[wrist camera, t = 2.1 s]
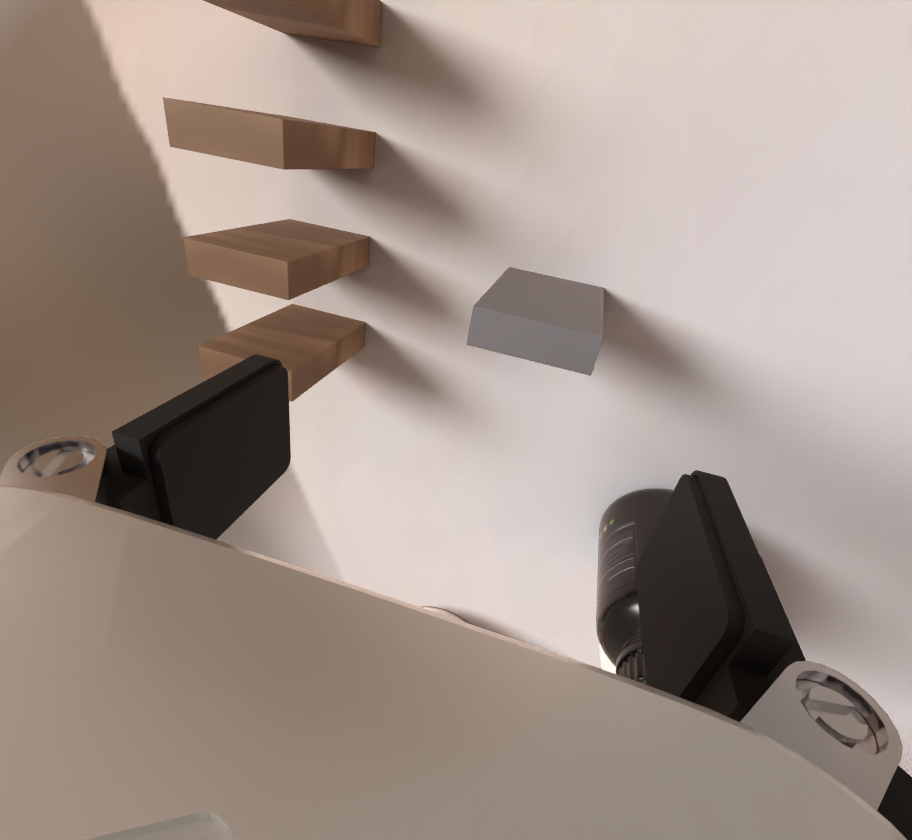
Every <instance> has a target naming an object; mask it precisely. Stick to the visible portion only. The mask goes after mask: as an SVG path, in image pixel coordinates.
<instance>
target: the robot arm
mask: <svg viewBox="0 0 912 840" xmlns="http://www.w3.org/2000/svg"><path fill="white" fill-rule="evenodd" d="M112 435H113V438H114V442H115V445H113V446H112V447H110V448H108V449H106V446H105V445H104V444H103V443H102V442H101V441H99V440H97V439H94V438H91V437H84V436H65V437H59V438H53V439H48V440H45V441H41V442H38V443H35V444H33V445H30V446H28V447H26V448H23V449H22V450H21V451H19V452H17V453H16V454H15V455H13V456H12V457H11V458H10V459H9V461H8V462H7V463H6V465H5V467H4V469H3V471H2V473H1V475H0V840H912V777H911V776H910V775H908V774H907V773H906V772H905V771H904V770H903V769H902V768H901V767H899V766H898V764H899V762H900V760H901V755H902V743H901V740H900V737H899V734H898V731H897V729H896V728H895V726H894V724H893V723H892V721H891V719H890V718H889V716H888V715H887V713H886V712H885V711H884V710H883V709H882V708H881V706H880V705H879V704H878V703H877V702H876V701H875V700H874V698H873V697H871V696H870V695H869V694H868V693H867V692H866V691H864V690H863V689H862V688H861V687H860V686H859V685H858V684H856V683H855V682H853V681H852V680H850V679H849V678H847V677H846V676H844V675H843V674H841V673H840V672H838V671H835V670H833V669H831V668H829V667H827V666H825V665H822V664H818V663H814V662H810V661H806V660H805V658H804V655H803V653H802V651H801V648H800V646H799V644H798V641H797V639H796V637H795V634H794V632H793V630H792V628H791V625H790V623H789V621H788V618H787V616H786V614H785V611H784V609H783V607H782V604H781V602H780V600H779V598H778V595H777V593H776V591H775V588H774V586H773V584H772V581H771V579H770V577H769V574H768V572H767V570H766V568H765V565H764V563H763V561H762V558H761V556H760V555H759V553H758V551H757V549H756V547H755V544H754V542H753V540H752V537H751V535H750V533H749V530H748V528H747V526H746V523H745V521H744V519H743V516H742V514H741V512H740V509H739V507H738V505H737V503H736V500H735V498H734V496H733V493H732V491H731V489H730V486H729V484H728V482H727V480H726V479H725V478H724V477H720V476H716V475H713V474H709V473H705V472H701V471H697V470H696V471H694V472H693V473H692V474H691V475H687V474H684V475H682V477H681V478H680V480H679V482H678V484H677V486H676V488H675V490H674V492H673V494H672V496H671V498H670V500H669V502H668V504H667V506H666V508H665V510H664V512H663V514H662V516H661V517H660V519H659V521H658V523H657V525H656V527H655V529H654V531H653V533H652V535H651V537H650V539H649V541H648V543H647V545H646V547H645V549H644V551H643V553H642V555H641V557H640V559H639V562H638V564H637V568H636V587H637V596H638V606H639V616H640V625H641V635H642V645H643V654H644V664H645V673H646V683H647V685H645V684H643V683H640V682H637V681H635V680H632V679H629V678H626V677H623V676H620V675H617V674H614V673H611V672H608V671H605V670H603V669H600V668H597V667H594V666H591V665H588V664H586V663H583V662H580V661H577V660H574V659H572V658H569V657H566V656H563V655H560V654H557V653H554V652H551V651H548V650H545V649H542V648H539V647H536V646H533V645H530V644H527V643H524V642H521V641H518V640H515V639H512V638H510V637H507V636H504V635H501V634H498V633H495V632H492V631H489V630H486V629H483V628H480V627H477V626H474V625H471V624H468V623H465V622H462V621H459V620H456V619H453V618H451V617H448V616H445V615H442V614H439V613H436V612H433V611H430V610H427V609H424V608H421V607H418V606H415V605H412V604H409V603H406V602H403V601H400V600H397V599H394V598H391V597H388V596H385V595H382V594H379V593H376V592H373V591H370V590H367V589H364V588H361V587H358V586H355V585H352V584H349V583H346V582H343V581H340V580H337V579H333V578H331V577H327V576H325V575H321V574H319V573H316V572H312V571H309V570H306V569H303V568H300V567H297V566H294V565H291V564H288V563H285V562H282V561H279V560H276V559H273V558H270V557H267V556H264V555H261V554H258V553H255V552H252V551H248V550H245V549H242V548H239V547H236V546H233V545H230V544H227V543H224V542H221V541H218V540H216V539H217V538H218V537H219V536H220V535H221V534H222V533H223V532H224V531H225V530H226V529H227V528H228V527H229V526H230V525H231V524H232V523H234V522H235V520H237V518H239V516H241V515H242V514H243V513H244V511H246V510H247V509H248V508H249V507H250V506H251V505H252V504H253V503H254V502H255V501H256V500H257V499H258V498H259V497H260V496H261V495H262V494H263V493H264V492H265V491H266V490H267V489H268V488H269V487H270V486H271V485H272V484H273V483H274V482H275V481H276V480H277V479H278V478H279V477H280V476H281V475H282V474H283V473H284V472H285V471H286V470H287V468H288V466H289V464H290V458H291V455H290V423H289V392H288V372H287V369H286V368H284V367H283V365H282V363H281V362H280V361H279V360H277V359H273V358H269V357H266V356H262V355H258V354H255V355H252V356H250V357H248V358H246V359H245V360H243V361H241V362H239V363H237V364H235V365H234V366H232V367H230V368H228V369H226V370H224V371H223V372H221V373H219V374H217V375H215V376H213V377H212V378H210V379H208V380H206V381H204V382H202V383H201V384H199V385H197V386H195V387H193V388H191V389H189V390H188V391H186V392H184V393H182V394H180V395H178V396H177V397H175V398H173V399H171V400H169V401H167V402H166V403H164V404H162V405H160V406H158V407H157V408H155V409H153V410H151V411H149V412H147V413H146V414H144V415H142V416H140V417H138V418H136V419H135V420H133V421H131V422H129V423H127V424H125V425H123V426H122V427H120V428H118V429H116V430H114V431H112Z"/></svg>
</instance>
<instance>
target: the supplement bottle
mask: <svg viewBox="0 0 912 840" xmlns="http://www.w3.org/2000/svg"><path fill="white" fill-rule="evenodd" d="M672 494H673V491H669V490H663V489H645V490H639V491H635V492H632V493H629V494H626V495H624V496H622V497H621V498H619V499H617V500H616V501H615V502H613V503H612V504H611V505H610V506H609V507H608V509H607V510H606V511H605V513H604V515H603V517H602V519H601V523H600V528H599V545H598V578H597V611H596V626H597V636H598V639H599V642H600V645H601V647H602V649H603V651H604V653H605V654H606V656H607V657H608V659H609V660H610V661H611V662H612V664H613V665H614V666H615V667H616V674H617V675H620V676H623V677H626V678H629V679H632V680H635V681H637V682H640V683H643V684H645V685H647V683H646V673H645V664H644V654H643V645H642V635H641V625H640V616H639V606H638V596H637V587H636V568H637V564H638V562H639V559H640V557H641V555H642V553H643V551H644V549H645V547H646V545H647V543H648V541H649V539H650V537H651V535H652V533H653V531H654V529H655V527H656V525H657V523H658V521H659V519H660V517H661V516H662V514H663V512H664V510H665V508H666V506H667V504H668V502H669V500H670V498H671V496H672Z"/></svg>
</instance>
